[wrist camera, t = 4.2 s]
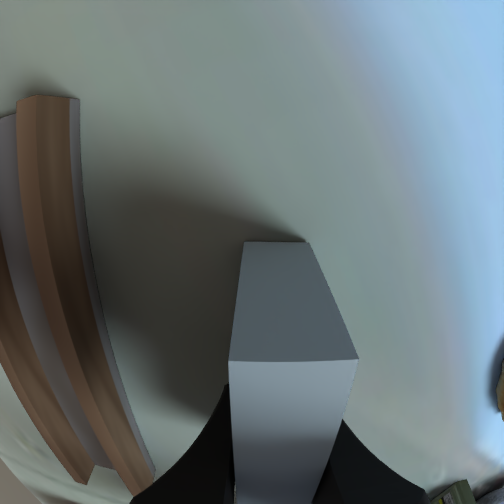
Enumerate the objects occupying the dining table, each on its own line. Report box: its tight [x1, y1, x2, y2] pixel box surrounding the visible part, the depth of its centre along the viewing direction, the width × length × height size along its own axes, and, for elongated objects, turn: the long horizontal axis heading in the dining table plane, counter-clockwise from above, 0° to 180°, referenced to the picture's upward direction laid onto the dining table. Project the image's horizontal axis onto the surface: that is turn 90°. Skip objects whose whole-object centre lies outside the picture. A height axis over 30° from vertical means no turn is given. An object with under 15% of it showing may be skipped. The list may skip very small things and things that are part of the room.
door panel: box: [228, 242, 359, 504], centre depth 11 cm, size 2×12×7 cm, turn 0°
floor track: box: [0, 95, 156, 496], centre depth 13 cm, size 6×24×3 cm, turn 179°
